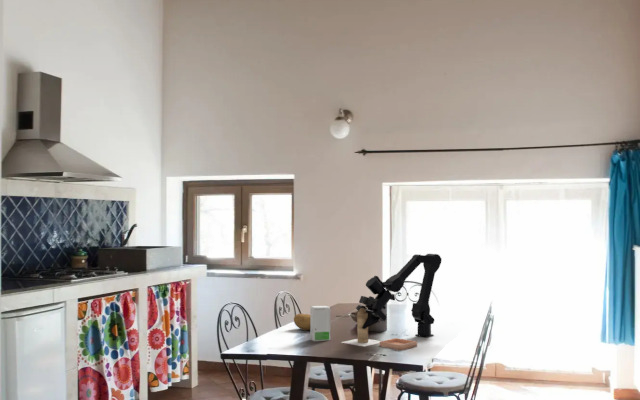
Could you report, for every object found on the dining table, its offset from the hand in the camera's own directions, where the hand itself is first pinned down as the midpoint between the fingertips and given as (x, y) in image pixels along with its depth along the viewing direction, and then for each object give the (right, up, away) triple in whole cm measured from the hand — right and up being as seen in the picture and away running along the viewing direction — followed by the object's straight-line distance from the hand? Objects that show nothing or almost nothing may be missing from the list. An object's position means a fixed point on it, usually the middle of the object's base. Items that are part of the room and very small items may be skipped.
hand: (359, 327), depth 292 cm
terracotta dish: (+16, -7, -9) cm, 20 cm away
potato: (-24, -8, +36) cm, 44 cm away
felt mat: (+1, -7, 0) cm, 7 cm away
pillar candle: (+11, -8, +33) cm, 36 cm away
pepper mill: (+1, -7, 0) cm, 7 cm away
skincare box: (-18, -8, +8) cm, 21 cm away
